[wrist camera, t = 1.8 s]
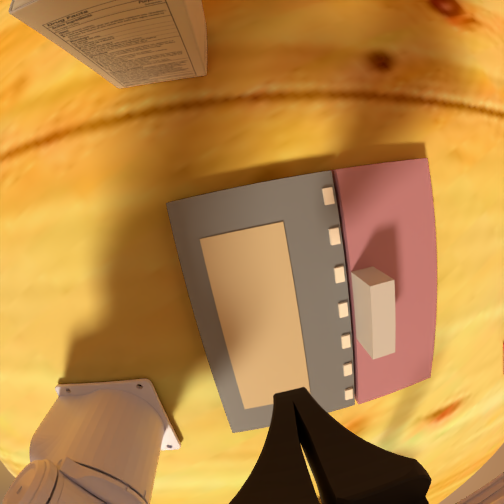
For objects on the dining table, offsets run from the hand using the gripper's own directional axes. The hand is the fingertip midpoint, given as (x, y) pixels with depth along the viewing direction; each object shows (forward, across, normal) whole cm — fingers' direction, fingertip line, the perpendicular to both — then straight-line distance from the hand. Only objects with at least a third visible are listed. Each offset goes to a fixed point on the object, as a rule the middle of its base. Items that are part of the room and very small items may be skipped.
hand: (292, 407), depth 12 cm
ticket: (+9, 0, 0) cm, 9 cm away
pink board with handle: (+9, -9, 0) cm, 13 cm away
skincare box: (+10, +4, -19) cm, 22 cm away
